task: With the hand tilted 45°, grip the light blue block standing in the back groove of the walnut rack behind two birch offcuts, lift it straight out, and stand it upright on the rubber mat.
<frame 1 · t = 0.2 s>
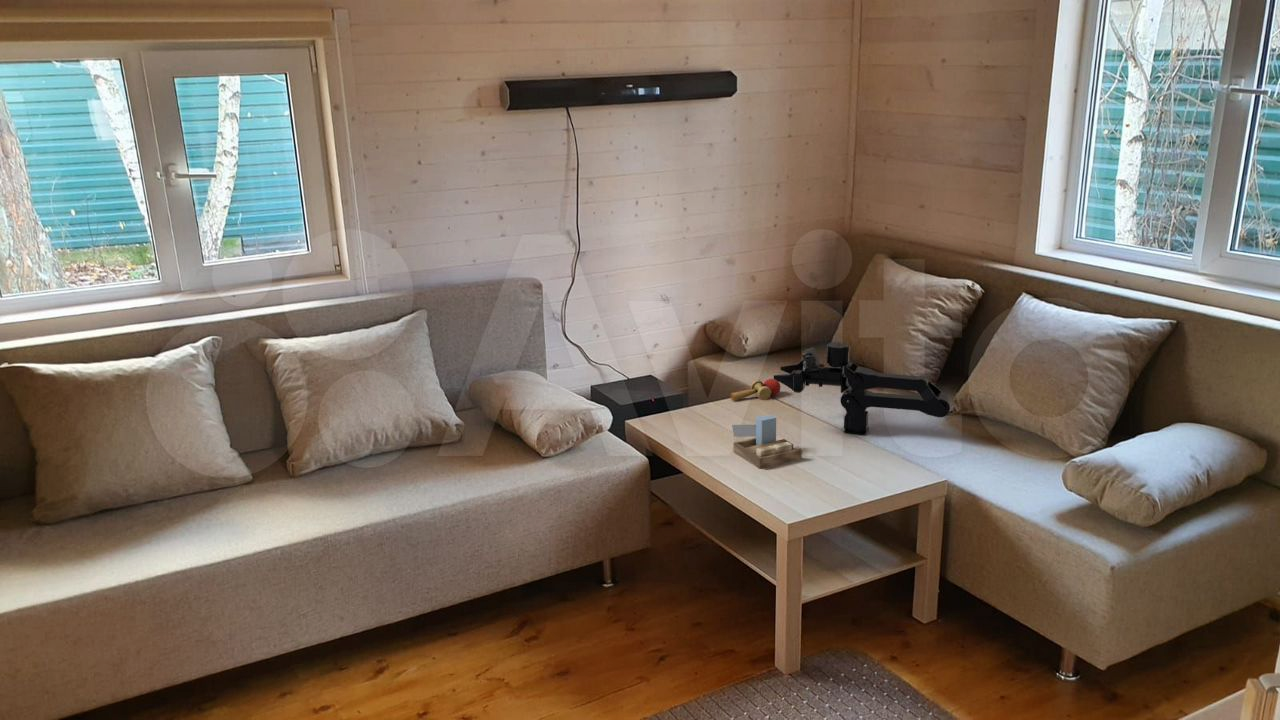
hand: (777, 372, 302), 17 cm above the table, tool horizontal, fingers open, 9 cm apart
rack: (765, 451, 284), on the table
light blue block: (765, 449, 284), point 1 cm above the table, touching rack
offcut 1: (765, 462, 275), point 1 cm above the table, touching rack
offcut 2: (782, 459, 277), point 1 cm above the table, touching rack
kendama: (755, 398, 330), on the table
mat: (749, 432, 299), on the table
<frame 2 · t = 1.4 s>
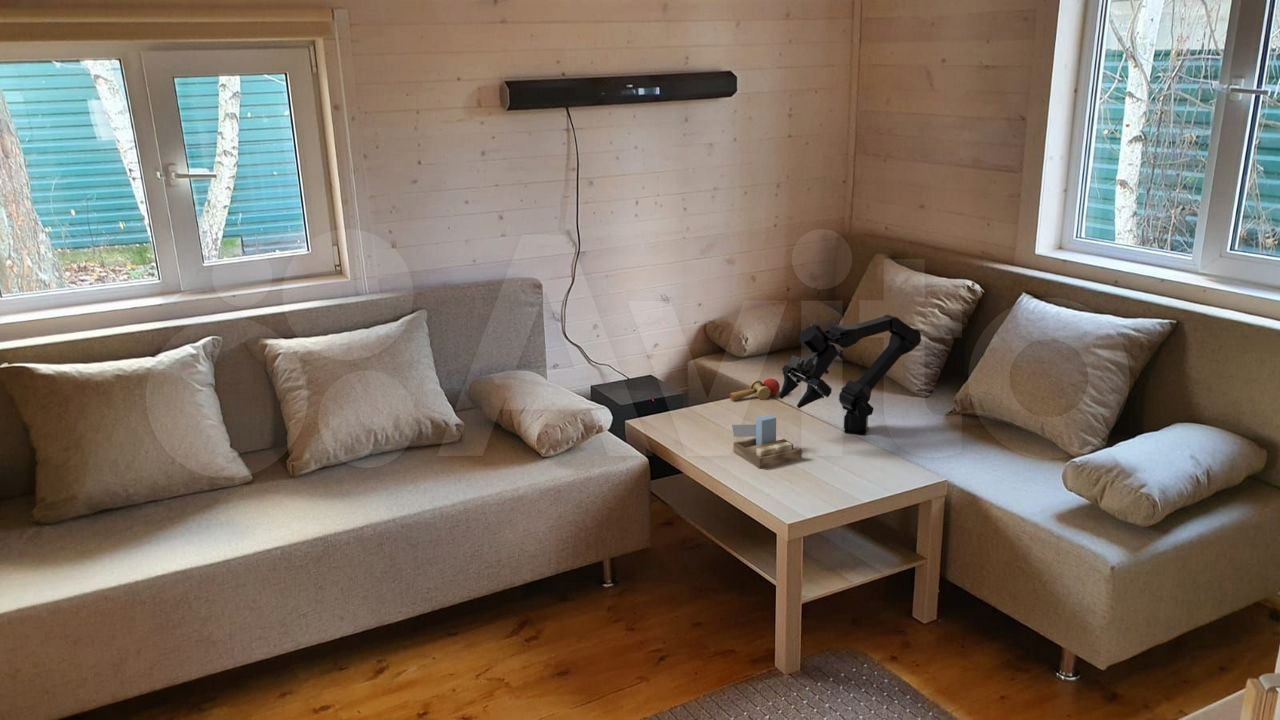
hand: (788, 402, 284), 14 cm above the table, tool tilted 45°, fingers open, 9 cm apart
nothing on the table moved.
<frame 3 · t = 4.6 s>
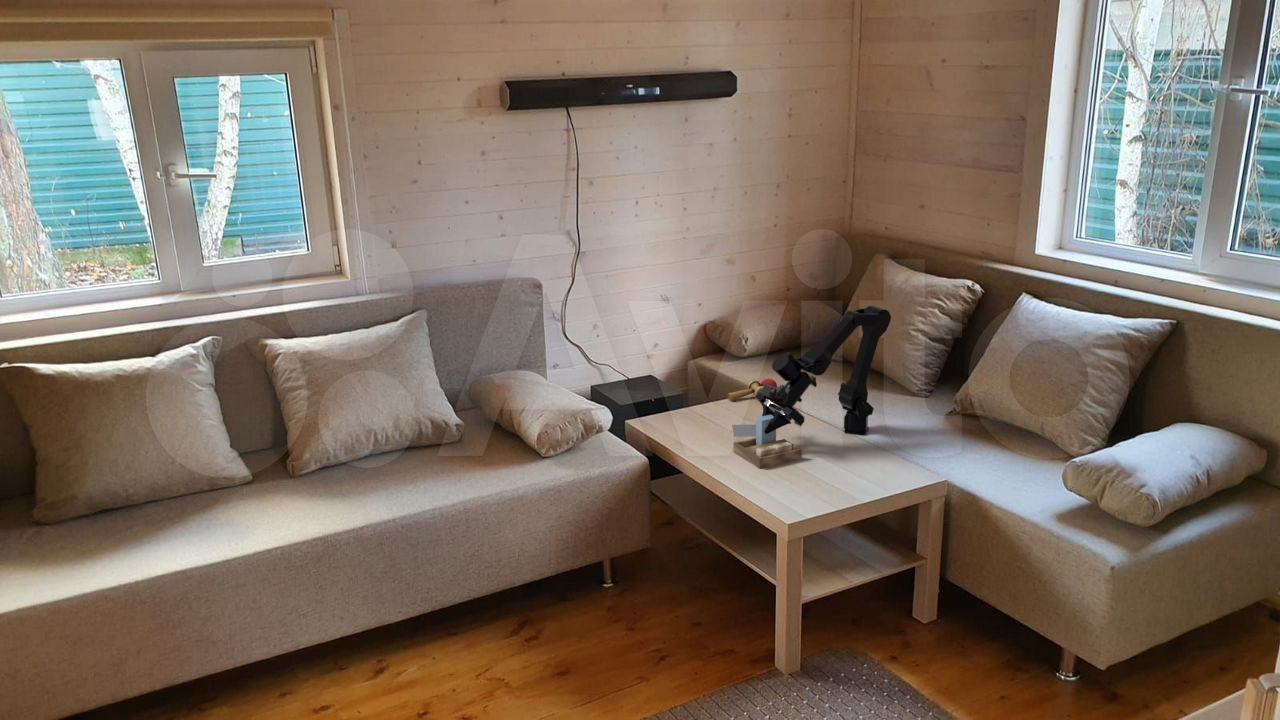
hand: (762, 431, 282), 7 cm above the table, tool tilted 45°, fingers closed on light blue block, 3 cm apart
light blue block: (765, 449, 284), point 1 cm above the table, touching gripper, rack
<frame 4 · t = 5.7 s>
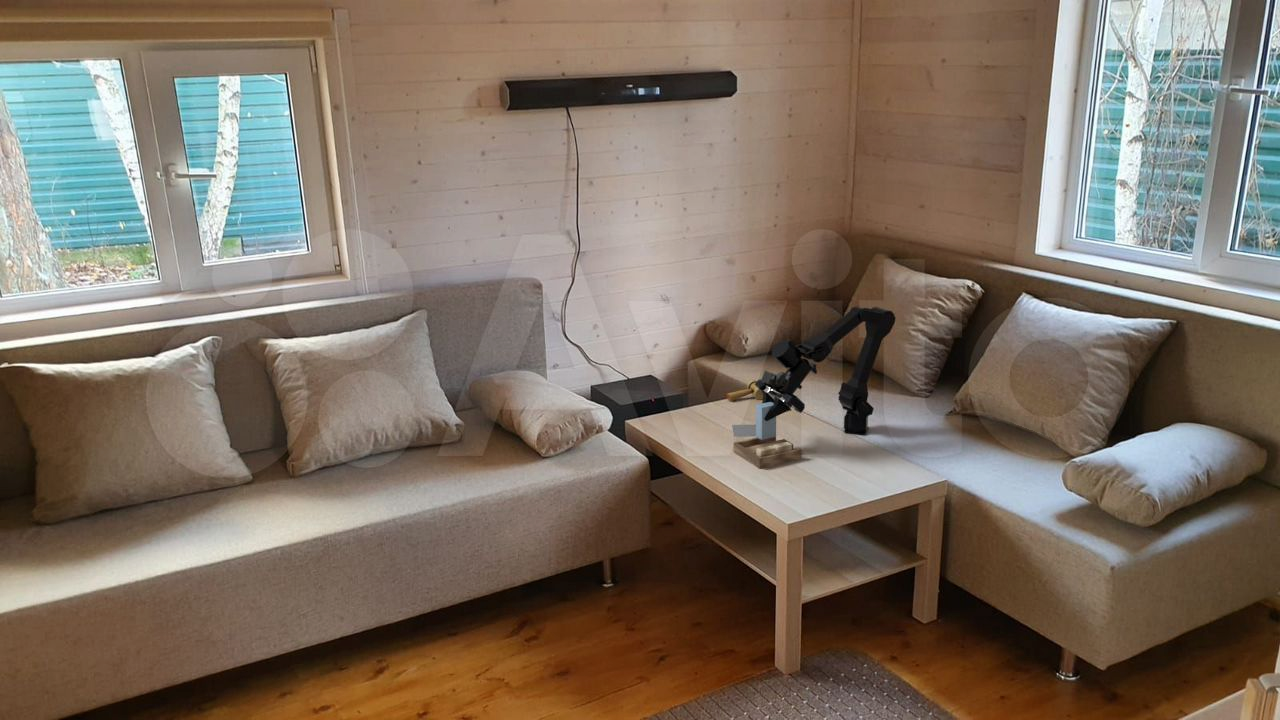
hand: (762, 418, 281), 11 cm above the table, tool tilted 45°, fingers closed on light blue block, 3 cm apart
light blue block: (766, 436, 283), point 5 cm above the table, touching gripper
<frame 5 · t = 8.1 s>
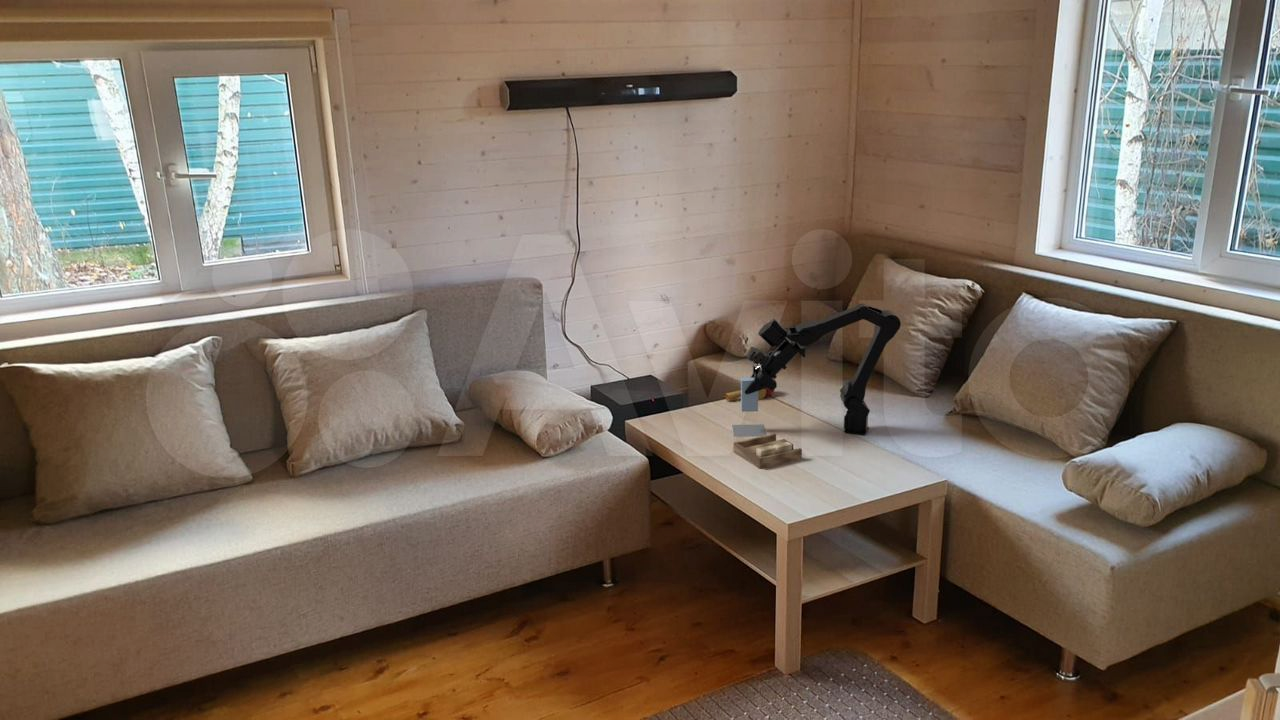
hand: (745, 391, 295), 13 cm above the table, tool tilted 45°, fingers closed on light blue block, 3 cm apart
light blue block: (749, 409, 297), point 7 cm above the table, touching gripper
when the fingers open (7 cm above the table, at t = 9.7 s): light blue block stays where it is, resting on mat.
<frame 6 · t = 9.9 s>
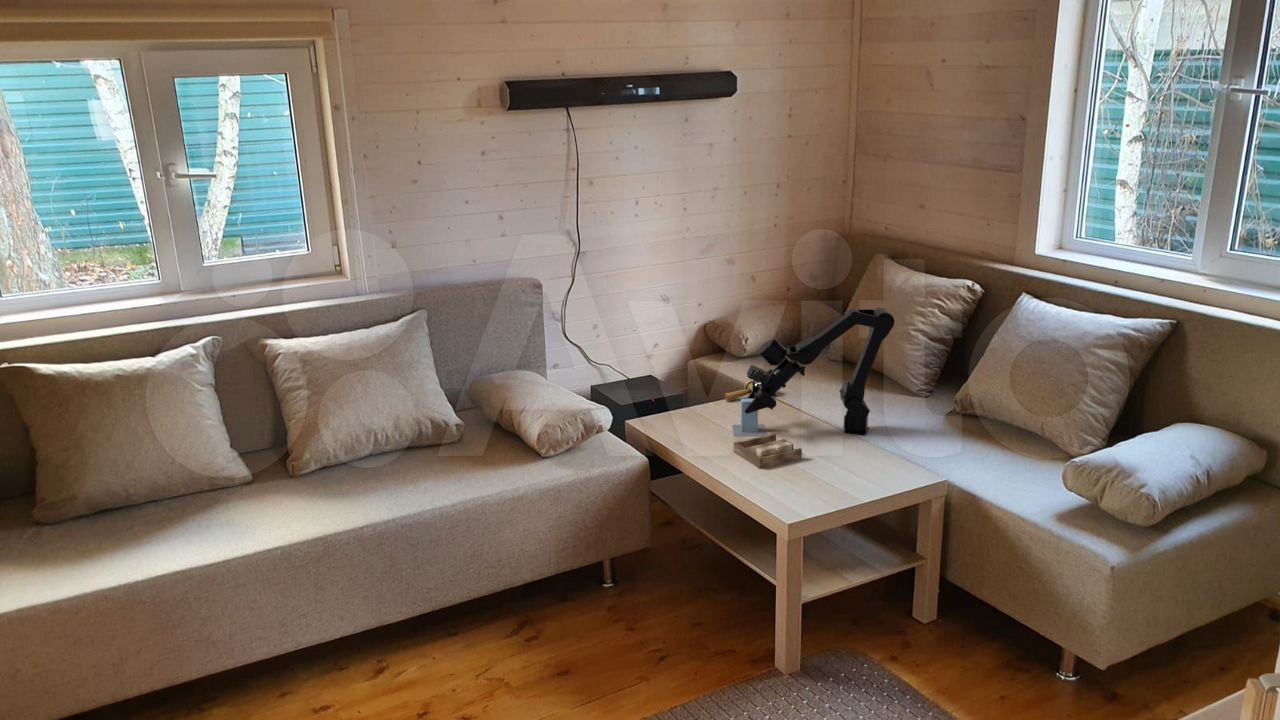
hand: (744, 409, 297), 8 cm above the table, tool tilted 45°, fingers open, 5 cm apart
light blue block: (749, 430, 299), point 1 cm above the table, touching mat
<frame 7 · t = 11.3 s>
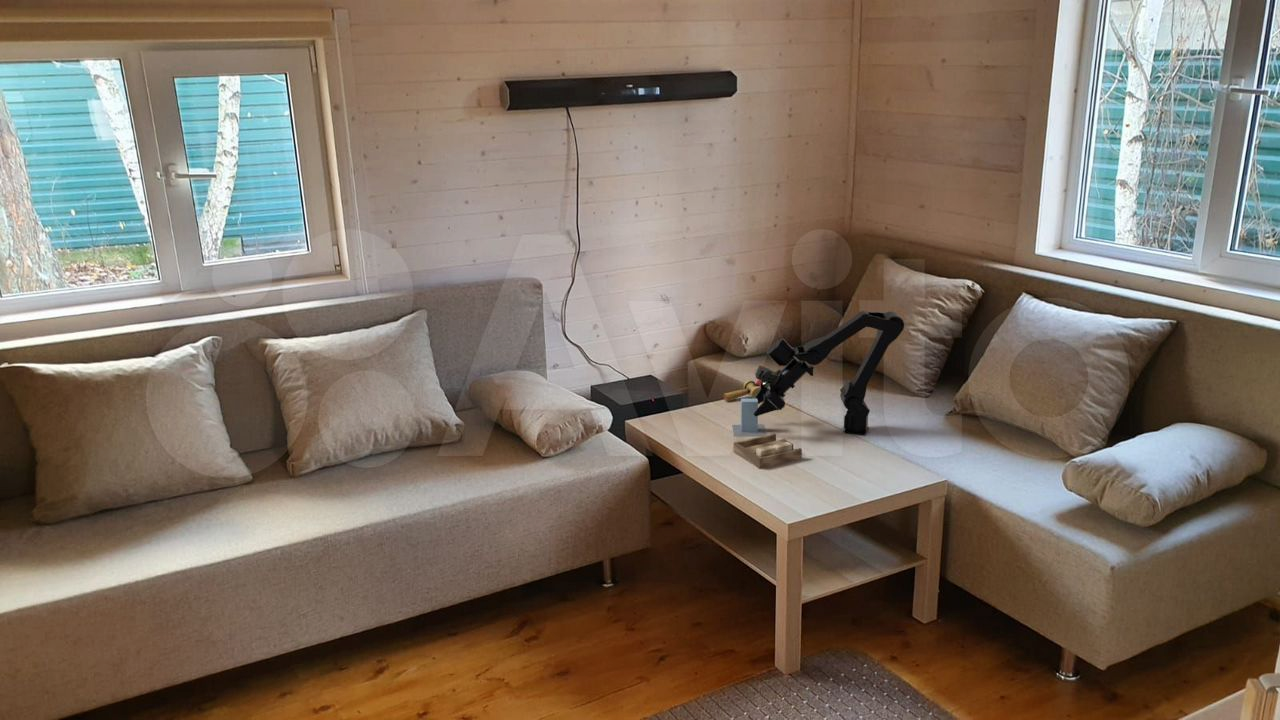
hand: (753, 410, 297), 7 cm above the table, tool tilted 45°, fingers open, 9 cm apart
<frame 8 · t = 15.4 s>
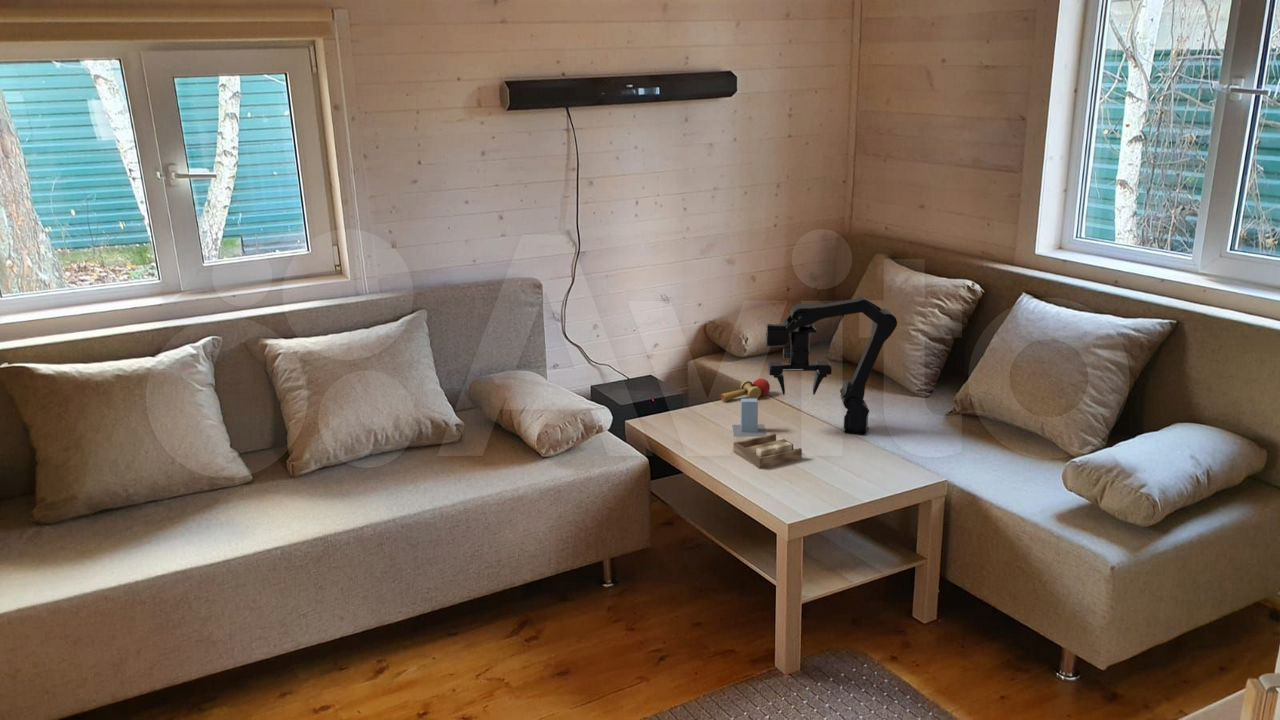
hand: (798, 394, 296), 12 cm above the table, tool pointing down, fingers open, 9 cm apart
at the end: light blue block inside the target area on the mat (0.0 cm from its centre), point 0.6 cm above the mat's base; light blue block tilted 0°; offcut 2 moved 0.0 cm from its start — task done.
